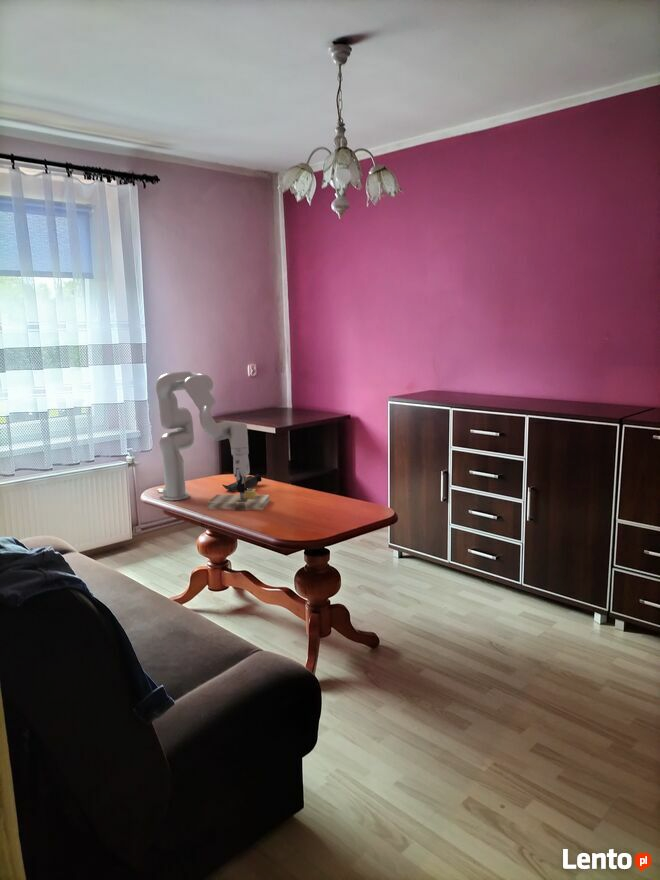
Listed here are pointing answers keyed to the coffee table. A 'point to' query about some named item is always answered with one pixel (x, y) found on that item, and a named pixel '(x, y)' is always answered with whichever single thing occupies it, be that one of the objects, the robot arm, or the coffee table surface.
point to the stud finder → (250, 493)
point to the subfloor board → (238, 502)
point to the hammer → (250, 480)
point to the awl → (242, 495)
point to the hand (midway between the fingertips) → (242, 490)
